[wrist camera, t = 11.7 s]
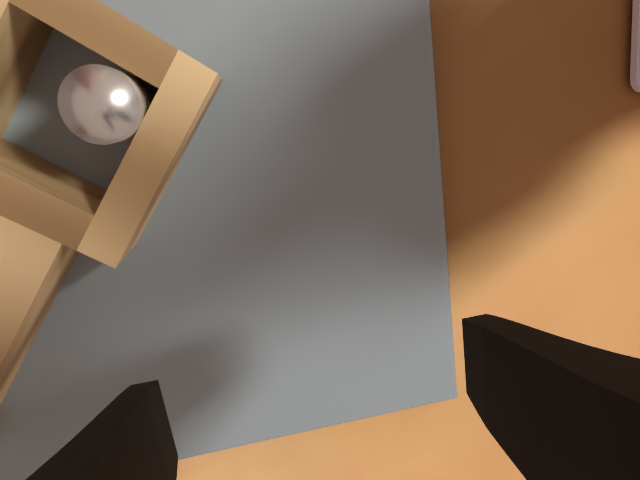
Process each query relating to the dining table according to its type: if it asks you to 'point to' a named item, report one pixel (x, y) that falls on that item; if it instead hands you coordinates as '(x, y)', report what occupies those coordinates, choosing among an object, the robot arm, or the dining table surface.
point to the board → (255, 235)
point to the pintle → (103, 103)
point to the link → (68, 188)
